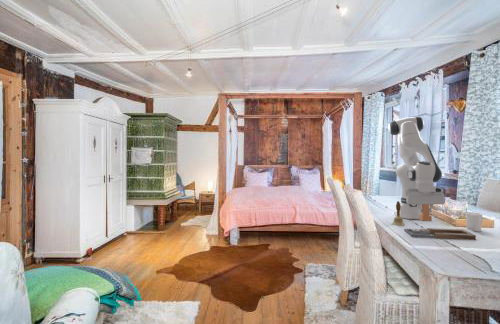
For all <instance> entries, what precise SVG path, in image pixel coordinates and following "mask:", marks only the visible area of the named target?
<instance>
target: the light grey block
mask: <svg viewBox="0 0 500 324" xmlns="http://www.w3.org/2000/svg"><path fill="white" fill-rule="evenodd" d="M419 229H420V231H421V235H431V234H430V231H429V230H428V229H427V228H419Z"/></svg>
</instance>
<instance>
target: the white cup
mask: <svg viewBox="0 0 500 324" xmlns="http://www.w3.org/2000/svg"><path fill="white" fill-rule="evenodd" d="M465 222H466V229H468V230H471V231H472V232H481V231H482V223H483V213H480V212H475V211H474V212H473V211H472V212H471V211H469V212H467V211H466V212H465Z"/></svg>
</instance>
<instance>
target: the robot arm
mask: <svg viewBox="0 0 500 324" xmlns="http://www.w3.org/2000/svg"><path fill="white" fill-rule="evenodd" d="M424 127H425V122H424V119H423V117H421V116H414V117H413V116H412V117H404V118H399V119H394V120H391V121H389V123H388V127H387V128H388V131H389V133H390V135H392V136H397V145H398V151H399V152H398V153H399V157H400V158H401V159H402V160H403V163H402V164H400V165H398V166H397V167H396V168H395V174H396V177H398V179H399V180H400V185H401V197H400V206H401V208H400V217H401V218H402V219H405V220H407V219H409V220H419V214H422V212H423V209H422V208H421V204H429V213H431V212H432V209H433V208H434V205H445V203H446V196H445V194H444V189H443V188H441V187H438V186H435V185H434V184H435V183H437V182H439V181H440V180H441V179H442V177H443V176H442V175H443V173H442V170H441V169H440V167H439V165H438V163H437V162H436V160H435V157H434V154H433V152H432V151H431V148H430V147H429V144H428V143H426V142H425V141H424V140H423V139H422V138H421V135H420V132H421V131H422V130H423V129H424ZM418 154H420V155H421V156H422V157H423V159H424V161H421V160H420V158H419V155H418ZM395 210H396V211H394V214H395V217H397V209H395Z"/></svg>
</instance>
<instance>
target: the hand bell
mask: <svg viewBox="0 0 500 324" xmlns="http://www.w3.org/2000/svg"><path fill="white" fill-rule="evenodd" d="M400 203H401V201H399V200H397V201H396V205H395V208H396V209H397V210H396V209H395V210H396V212H397V217H396V216H395V217H394V218H393V219H394V220H393V222H392V223H391V225H392V226H394V225H395V226H405V223H404V222H403V221H404V220H403V218H401V217H400V208H401V206H400ZM391 225H390V226H391Z"/></svg>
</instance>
